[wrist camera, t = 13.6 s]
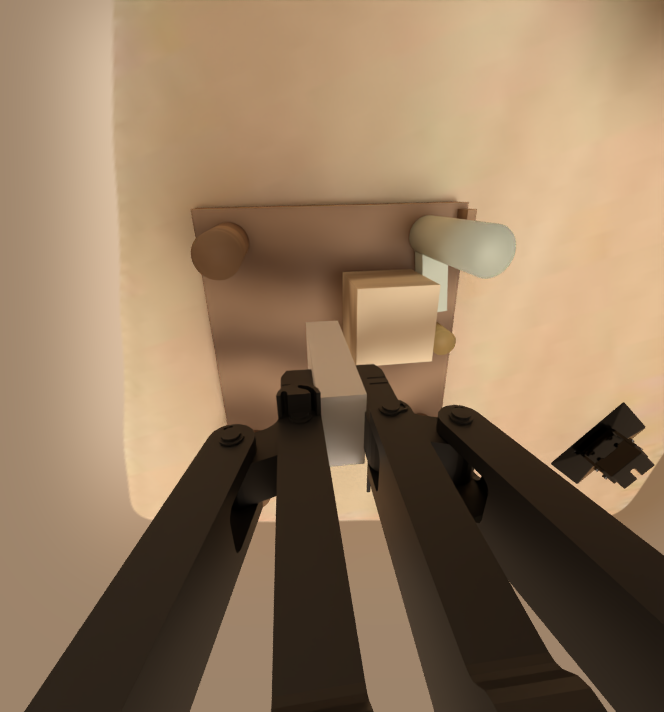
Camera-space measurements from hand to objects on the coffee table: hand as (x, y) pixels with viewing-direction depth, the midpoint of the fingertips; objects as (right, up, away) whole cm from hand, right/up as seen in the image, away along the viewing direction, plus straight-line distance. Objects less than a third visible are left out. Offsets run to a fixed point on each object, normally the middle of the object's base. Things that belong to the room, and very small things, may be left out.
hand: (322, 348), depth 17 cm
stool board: (+1, +1, +12) cm, 12 cm away
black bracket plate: (+29, -10, +22) cm, 38 cm away
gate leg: (+7, +6, +8) cm, 13 cm away
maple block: (+4, +3, +9) cm, 11 cm away
